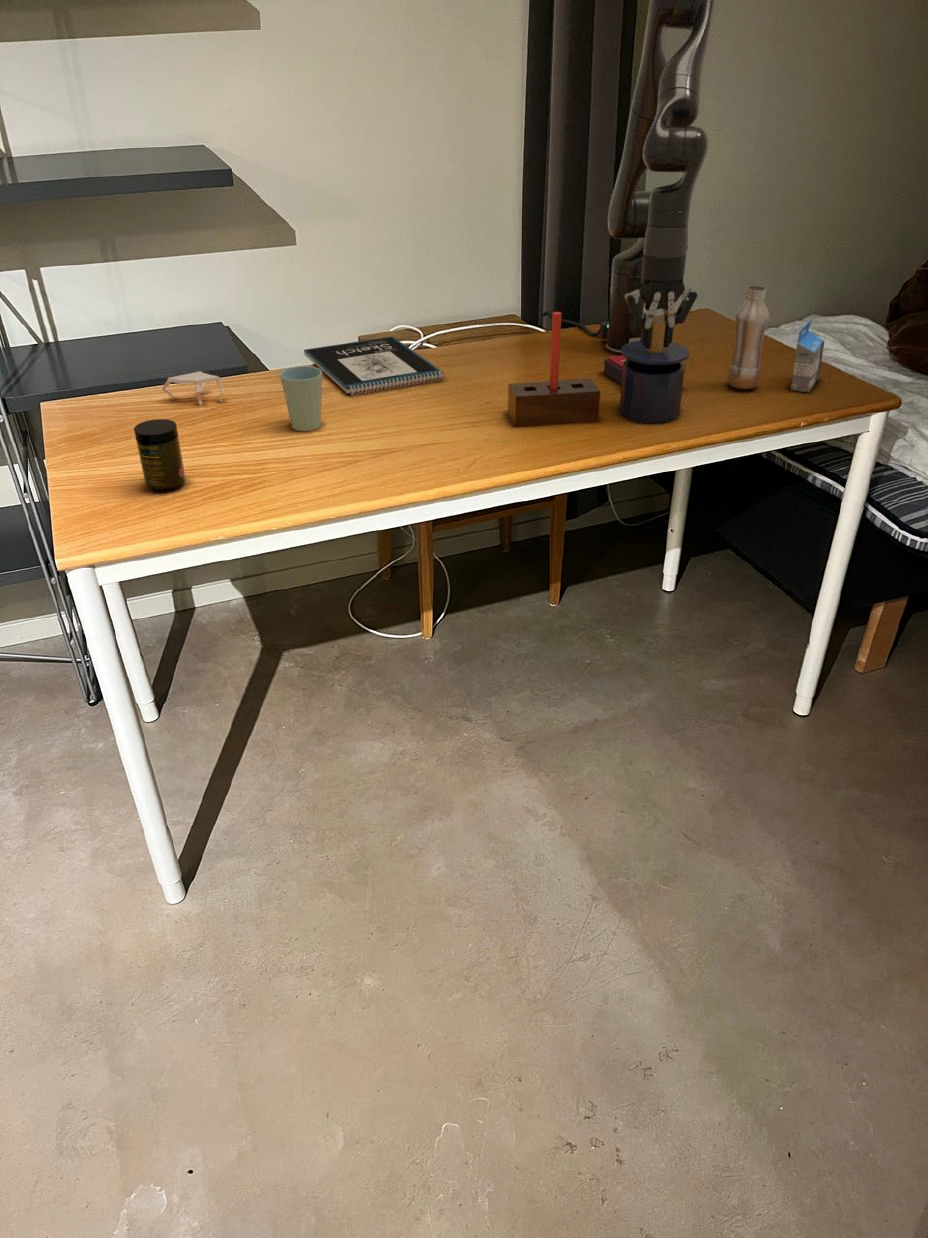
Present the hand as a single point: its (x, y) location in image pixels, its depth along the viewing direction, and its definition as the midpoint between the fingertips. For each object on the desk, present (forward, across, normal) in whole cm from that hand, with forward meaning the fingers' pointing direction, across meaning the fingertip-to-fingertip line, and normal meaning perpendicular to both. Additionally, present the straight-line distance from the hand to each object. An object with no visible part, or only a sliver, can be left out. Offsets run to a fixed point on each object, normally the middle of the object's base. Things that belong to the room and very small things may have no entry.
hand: (655, 345), depth 185 cm
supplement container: (+13, +90, +17) cm, 92 cm away
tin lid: (+1, 0, 0) cm, 1 cm away
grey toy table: (+13, +88, -23) cm, 92 cm away
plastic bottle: (+13, -23, -10) cm, 28 cm away
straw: (+13, +19, -1) cm, 23 cm away
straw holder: (+13, +19, -1) cm, 23 cm away
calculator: (+13, -4, -17) cm, 22 cm away
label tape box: (+13, -36, -9) cm, 39 cm away
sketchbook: (+13, +51, -36) cm, 64 cm away
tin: (+13, 0, 0) cm, 13 cm away
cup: (+13, +66, -5) cm, 68 cm away
